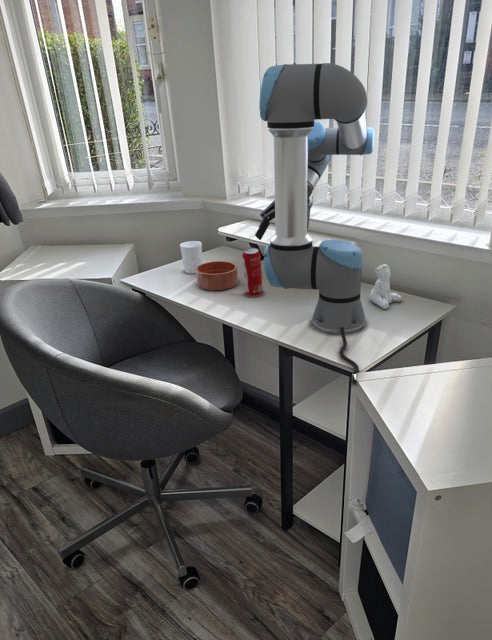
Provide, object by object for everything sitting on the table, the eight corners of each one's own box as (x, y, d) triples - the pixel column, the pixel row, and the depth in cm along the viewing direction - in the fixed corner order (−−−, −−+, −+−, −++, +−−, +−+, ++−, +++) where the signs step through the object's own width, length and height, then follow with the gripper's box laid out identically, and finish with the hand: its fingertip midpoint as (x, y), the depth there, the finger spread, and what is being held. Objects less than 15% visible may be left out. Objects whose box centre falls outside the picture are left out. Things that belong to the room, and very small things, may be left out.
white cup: (179, 273, 200) (176, 246, 194) (188, 266, 206) (185, 240, 201) (199, 274, 198) (196, 247, 192) (207, 268, 204) (204, 241, 199)
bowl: (232, 292, 182) (230, 275, 178) (192, 290, 184) (190, 273, 181) (242, 278, 193) (241, 261, 190) (204, 276, 196) (202, 260, 193)
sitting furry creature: (385, 310, 164) (388, 272, 158) (362, 303, 169) (364, 266, 163) (402, 301, 170) (406, 263, 164) (379, 294, 175) (382, 258, 169)
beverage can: (263, 290, 182) (261, 246, 174) (261, 298, 176) (259, 252, 168) (246, 290, 182) (243, 246, 174) (243, 298, 177) (240, 252, 169)
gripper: (337, 197, 172) (305, 254, 172) (281, 188, 188) (252, 240, 187) (326, 182, 166) (293, 242, 166) (270, 174, 182) (240, 228, 181)
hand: (271, 241), depth 176 cm, fingers open, 13 cm apart
